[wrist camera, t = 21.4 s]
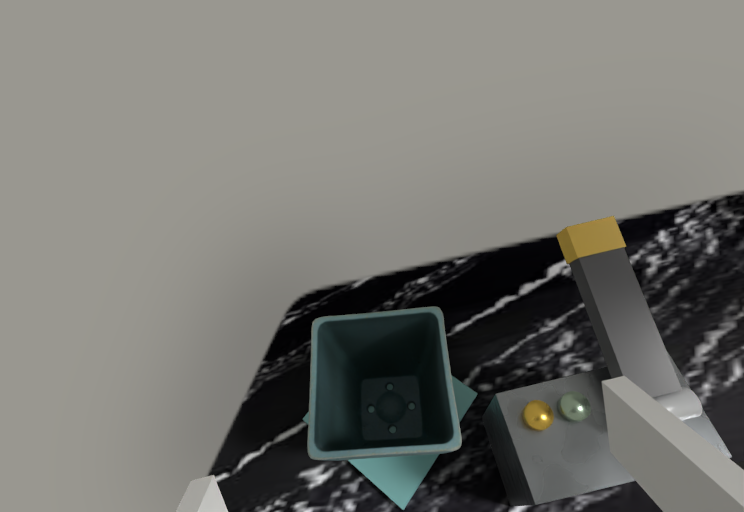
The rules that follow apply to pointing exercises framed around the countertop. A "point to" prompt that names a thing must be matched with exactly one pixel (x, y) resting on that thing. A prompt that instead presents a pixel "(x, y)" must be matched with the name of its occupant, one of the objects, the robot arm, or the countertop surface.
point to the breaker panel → (562, 438)
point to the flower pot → (381, 386)
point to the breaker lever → (623, 314)
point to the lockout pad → (406, 457)
